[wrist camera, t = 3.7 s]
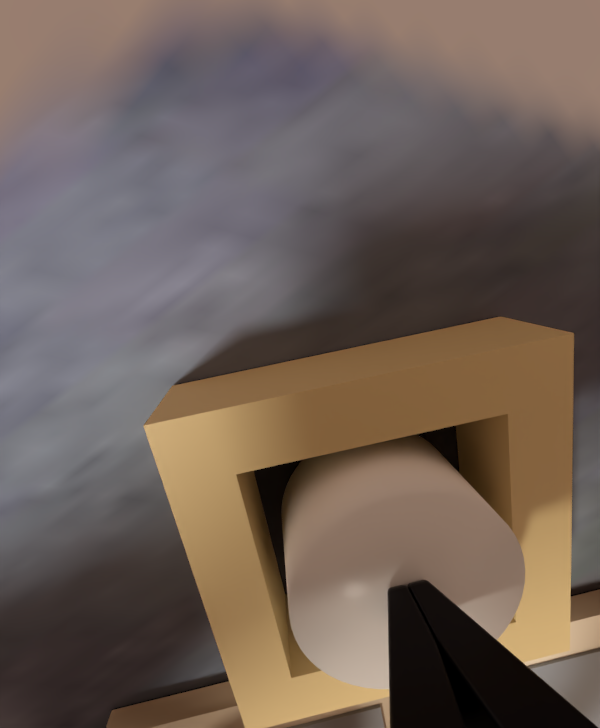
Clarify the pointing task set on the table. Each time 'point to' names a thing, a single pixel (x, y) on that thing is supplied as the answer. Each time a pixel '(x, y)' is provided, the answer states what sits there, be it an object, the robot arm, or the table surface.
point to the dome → (388, 551)
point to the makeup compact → (372, 719)
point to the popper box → (355, 429)
